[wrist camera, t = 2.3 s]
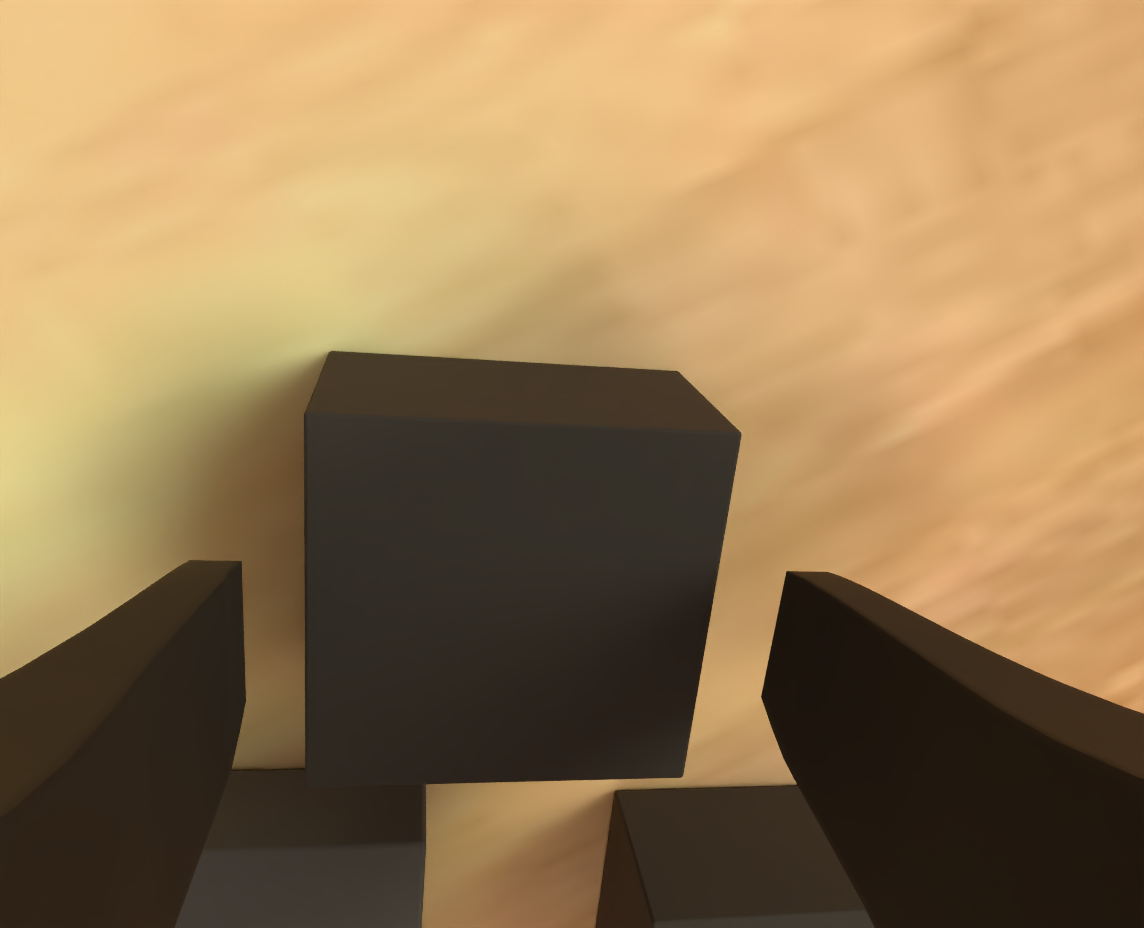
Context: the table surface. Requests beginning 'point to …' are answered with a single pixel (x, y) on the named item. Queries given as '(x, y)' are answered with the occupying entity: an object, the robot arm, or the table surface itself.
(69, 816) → the robot arm
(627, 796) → the top pad
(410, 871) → the base pad
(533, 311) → the table surface
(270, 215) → the table surface
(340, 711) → the middle pad
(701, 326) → the table surface
